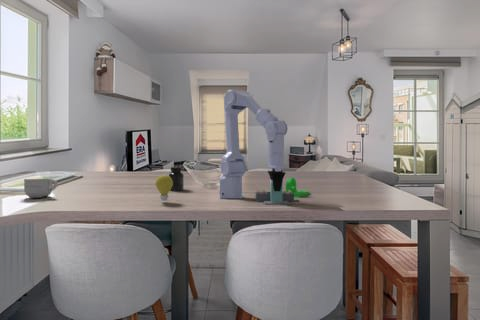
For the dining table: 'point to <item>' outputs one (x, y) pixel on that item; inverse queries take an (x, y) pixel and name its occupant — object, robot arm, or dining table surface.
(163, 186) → the light bulb
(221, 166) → the robot arm
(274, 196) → the plug
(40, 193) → the teacup
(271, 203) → the pad
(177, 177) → the supplement bottle
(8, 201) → the dining table surface
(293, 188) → the mechanical part
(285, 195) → the box
